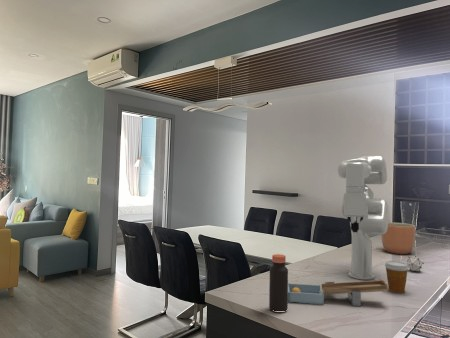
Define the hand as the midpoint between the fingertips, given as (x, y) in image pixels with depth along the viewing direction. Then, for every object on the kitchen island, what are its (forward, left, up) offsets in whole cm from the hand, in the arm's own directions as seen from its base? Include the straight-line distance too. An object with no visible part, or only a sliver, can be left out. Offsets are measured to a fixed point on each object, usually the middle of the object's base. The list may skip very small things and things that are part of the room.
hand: (354, 231), depth 150 cm
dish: (+14, -23, -26) cm, 37 cm away
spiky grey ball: (-40, +40, -26) cm, 62 cm away
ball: (+14, -26, -24) cm, 38 cm away
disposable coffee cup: (-4, +19, -26) cm, 32 cm away
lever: (+11, -3, -22) cm, 25 cm away
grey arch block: (+14, -3, -26) cm, 30 cm away
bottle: (+28, -33, -26) cm, 51 cm away
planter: (-89, +48, -26) cm, 104 cm away
